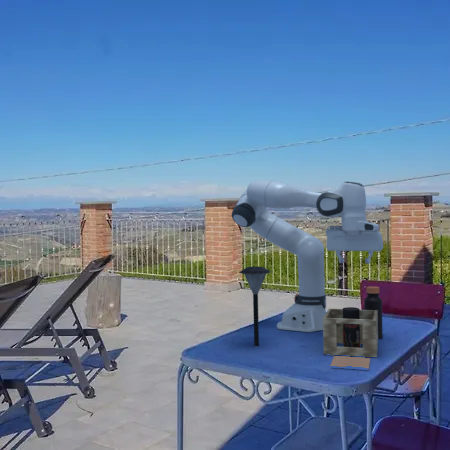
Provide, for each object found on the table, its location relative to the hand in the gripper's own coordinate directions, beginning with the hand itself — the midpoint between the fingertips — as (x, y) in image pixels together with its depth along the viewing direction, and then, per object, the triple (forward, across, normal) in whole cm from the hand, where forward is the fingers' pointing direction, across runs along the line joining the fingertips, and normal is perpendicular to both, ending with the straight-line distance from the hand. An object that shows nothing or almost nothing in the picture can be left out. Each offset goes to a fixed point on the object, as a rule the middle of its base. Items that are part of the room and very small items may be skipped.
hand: (354, 263), depth 191 cm
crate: (+31, -1, -3) cm, 31 cm away
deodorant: (+32, -1, -3) cm, 32 cm away
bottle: (+31, +4, +17) cm, 36 cm away
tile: (+31, +2, -21) cm, 38 cm away
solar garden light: (+32, -35, -10) cm, 48 cm away
